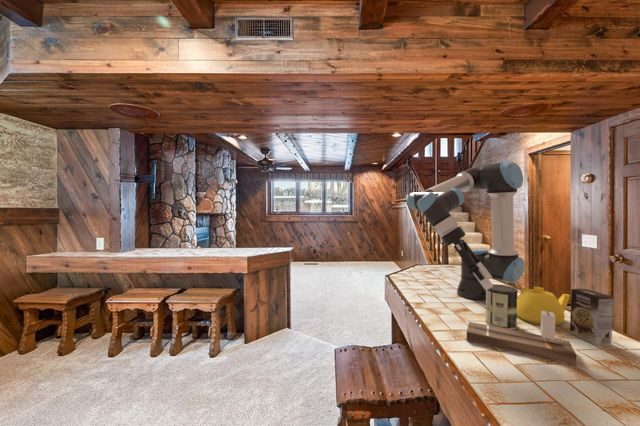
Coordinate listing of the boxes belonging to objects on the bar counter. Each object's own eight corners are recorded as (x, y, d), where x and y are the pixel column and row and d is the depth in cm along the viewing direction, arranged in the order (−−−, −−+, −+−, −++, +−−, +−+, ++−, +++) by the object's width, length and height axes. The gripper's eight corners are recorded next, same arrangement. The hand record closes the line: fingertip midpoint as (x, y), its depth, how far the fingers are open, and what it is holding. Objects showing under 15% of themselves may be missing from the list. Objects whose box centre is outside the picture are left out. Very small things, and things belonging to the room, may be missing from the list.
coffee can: (509, 320, 115) (510, 285, 115) (522, 331, 105) (523, 292, 105) (481, 318, 117) (482, 283, 117) (490, 328, 107) (491, 290, 107)
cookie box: (568, 333, 104) (570, 288, 103) (584, 332, 104) (586, 288, 104) (595, 345, 95) (597, 296, 94) (612, 344, 95) (614, 296, 95)
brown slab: (468, 329, 106) (468, 321, 106) (568, 350, 92) (568, 340, 92) (466, 340, 97) (466, 331, 97) (576, 365, 83) (576, 354, 83)
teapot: (530, 326, 110) (531, 293, 109) (501, 308, 128) (502, 280, 128) (585, 328, 109) (586, 294, 108) (548, 310, 127) (549, 281, 127)
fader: (540, 337, 93) (541, 310, 93) (552, 339, 91) (553, 312, 91) (542, 342, 89) (542, 314, 89) (554, 344, 88) (555, 316, 88)
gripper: (444, 234, 117) (479, 280, 111) (435, 240, 95) (478, 298, 90) (461, 223, 114) (498, 271, 108) (456, 227, 92) (501, 286, 87)
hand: (489, 283), depth 99 cm, fingers open, 13 cm apart
